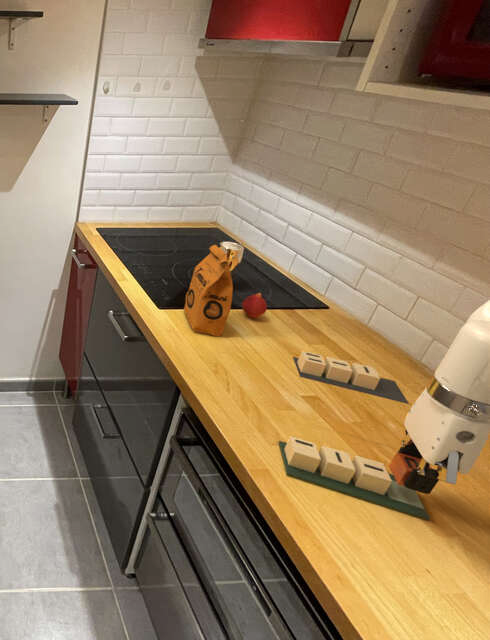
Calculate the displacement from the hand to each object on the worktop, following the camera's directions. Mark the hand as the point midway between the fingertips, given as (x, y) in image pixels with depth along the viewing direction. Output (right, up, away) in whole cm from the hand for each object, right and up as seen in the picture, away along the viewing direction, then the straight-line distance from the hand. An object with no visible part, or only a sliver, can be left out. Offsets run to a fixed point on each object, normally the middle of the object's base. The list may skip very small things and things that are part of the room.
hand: (410, 477), depth 76 cm
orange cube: (0, -1, 0) cm, 1 cm away
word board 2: (-7, -3, +5) cm, 9 cm away
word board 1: (+14, +8, +28) cm, 32 cm away
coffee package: (-9, +17, +49) cm, 52 cm away
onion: (+7, +18, +52) cm, 56 cm away
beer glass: (+7, +25, +67) cm, 72 cm away
